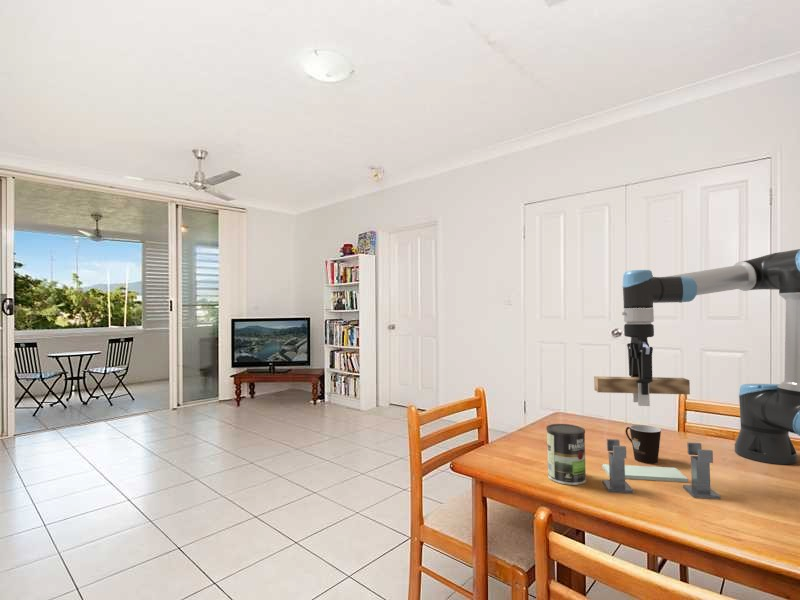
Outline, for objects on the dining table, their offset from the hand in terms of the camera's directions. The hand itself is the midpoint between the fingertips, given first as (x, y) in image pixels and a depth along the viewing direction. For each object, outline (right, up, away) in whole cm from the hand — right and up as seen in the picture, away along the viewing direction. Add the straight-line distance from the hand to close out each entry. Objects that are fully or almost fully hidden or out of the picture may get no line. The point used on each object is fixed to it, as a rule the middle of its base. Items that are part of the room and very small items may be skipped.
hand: (640, 403), depth 122 cm
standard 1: (-12, -20, -9) cm, 25 cm away
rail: (0, +3, 0) cm, 3 cm away
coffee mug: (+8, -21, +12) cm, 25 cm away
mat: (0, -20, 0) cm, 20 cm away
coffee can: (-22, -21, -2) cm, 31 cm away
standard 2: (+8, -20, -13) cm, 25 cm away
